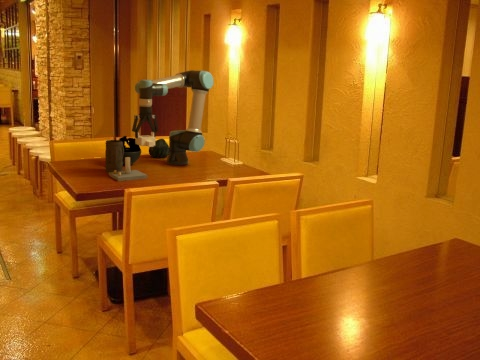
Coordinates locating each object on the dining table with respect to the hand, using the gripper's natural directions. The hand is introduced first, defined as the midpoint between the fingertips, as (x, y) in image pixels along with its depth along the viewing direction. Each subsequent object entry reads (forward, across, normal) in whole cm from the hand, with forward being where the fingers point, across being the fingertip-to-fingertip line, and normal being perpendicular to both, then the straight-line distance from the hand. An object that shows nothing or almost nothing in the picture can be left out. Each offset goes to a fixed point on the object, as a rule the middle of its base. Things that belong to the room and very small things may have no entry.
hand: (145, 143), depth 303 cm
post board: (+20, -11, 0) cm, 23 cm away
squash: (+20, +34, +50) cm, 64 cm away
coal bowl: (+20, +2, +34) cm, 40 cm away
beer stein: (+20, -11, +20) cm, 30 cm away
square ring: (+1, 0, -2) cm, 2 cm away
